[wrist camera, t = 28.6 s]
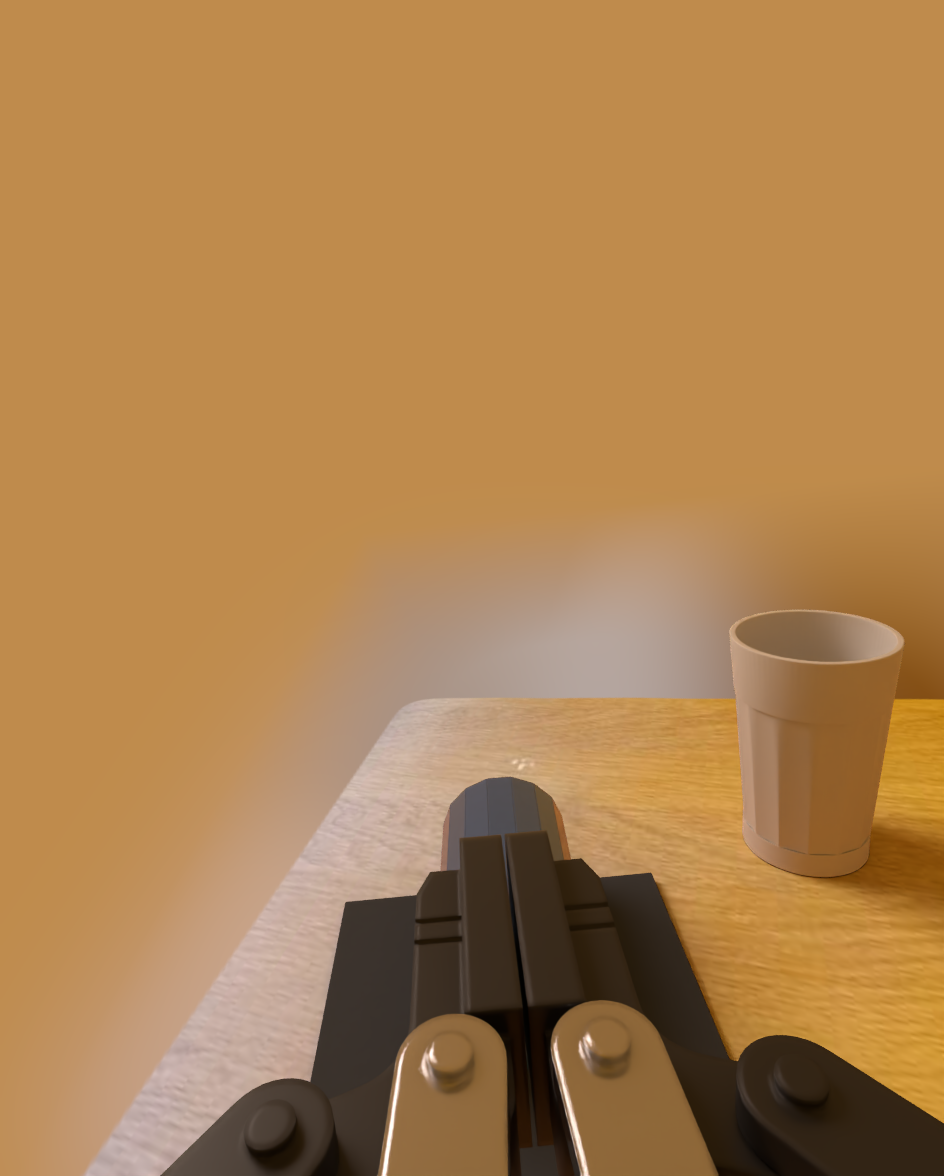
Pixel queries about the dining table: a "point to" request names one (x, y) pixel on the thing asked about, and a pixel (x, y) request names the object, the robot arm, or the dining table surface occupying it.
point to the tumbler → (501, 817)
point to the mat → (384, 980)
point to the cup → (812, 734)
